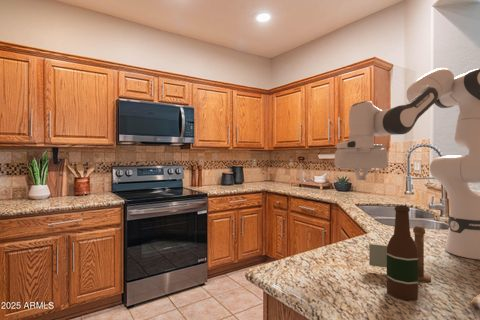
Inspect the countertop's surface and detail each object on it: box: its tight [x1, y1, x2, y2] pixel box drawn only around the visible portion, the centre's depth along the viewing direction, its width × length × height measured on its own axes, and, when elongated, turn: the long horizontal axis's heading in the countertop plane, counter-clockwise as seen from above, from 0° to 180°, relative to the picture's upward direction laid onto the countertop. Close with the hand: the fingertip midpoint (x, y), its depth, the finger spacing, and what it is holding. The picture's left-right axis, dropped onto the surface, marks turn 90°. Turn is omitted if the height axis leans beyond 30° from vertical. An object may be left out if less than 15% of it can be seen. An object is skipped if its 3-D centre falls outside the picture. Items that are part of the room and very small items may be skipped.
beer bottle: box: [386, 204, 419, 302], centre depth 74 cm, size 8×8×24 cm
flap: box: [368, 242, 388, 269], centre depth 87 cm, size 12×1×7 cm, turn 68°
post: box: [412, 225, 432, 283], centre depth 84 cm, size 6×6×16 cm
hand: (361, 180), depth 104 cm, fingers closed
